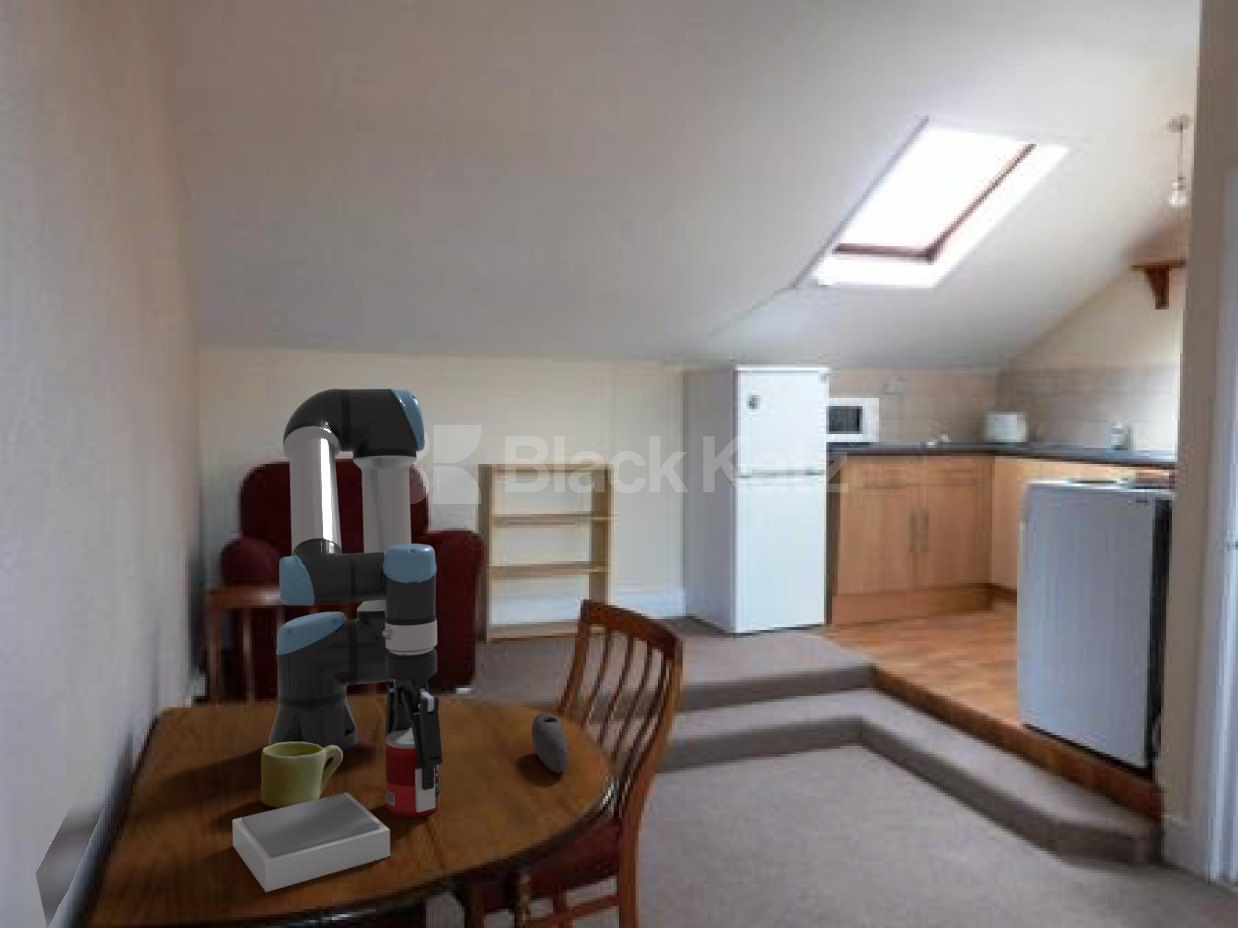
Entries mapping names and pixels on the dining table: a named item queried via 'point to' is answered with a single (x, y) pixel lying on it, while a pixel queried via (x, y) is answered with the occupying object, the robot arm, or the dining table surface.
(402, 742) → the canned food
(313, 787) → the mug
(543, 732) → the perforated stone tool
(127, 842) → the dining table surface
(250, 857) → the tray
